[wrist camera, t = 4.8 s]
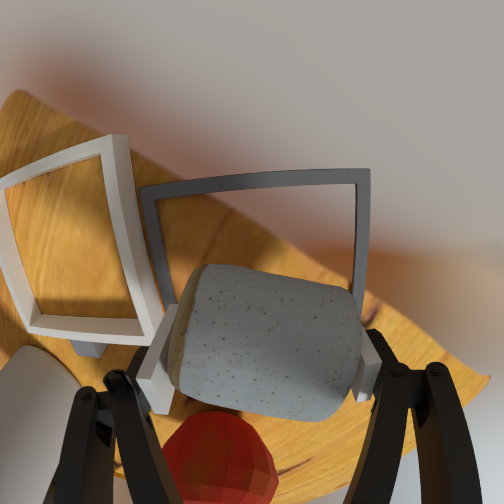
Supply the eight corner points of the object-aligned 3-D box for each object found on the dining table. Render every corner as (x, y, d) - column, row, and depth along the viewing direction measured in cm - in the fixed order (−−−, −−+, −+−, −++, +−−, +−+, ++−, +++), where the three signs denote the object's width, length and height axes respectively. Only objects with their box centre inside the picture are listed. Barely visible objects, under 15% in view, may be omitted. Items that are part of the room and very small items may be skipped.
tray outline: (183, 361, 24) (182, 363, 23) (141, 187, 18) (138, 188, 17) (353, 349, 23) (355, 352, 23) (367, 168, 17) (370, 169, 17)
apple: (294, 409, 26) (306, 522, 13) (243, 448, 30) (239, 535, 17) (190, 372, 24) (159, 502, 11) (158, 419, 28) (132, 512, 15)
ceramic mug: (201, 236, 15) (160, 314, 8) (337, 264, 16) (388, 348, 9) (184, 366, 19) (163, 450, 12) (287, 382, 20) (297, 466, 13)
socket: (46, 335, 24) (35, 347, 21) (-2, 183, 17) (-18, 188, 15) (173, 345, 23) (166, 363, 21) (128, 134, 16) (111, 133, 14)
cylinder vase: (103, 413, 29) (51, 550, 6) (47, 397, 29) (-8, 504, 6) (61, 347, 24) (-33, 507, 1) (9, 337, 25) (-74, 450, 2)
